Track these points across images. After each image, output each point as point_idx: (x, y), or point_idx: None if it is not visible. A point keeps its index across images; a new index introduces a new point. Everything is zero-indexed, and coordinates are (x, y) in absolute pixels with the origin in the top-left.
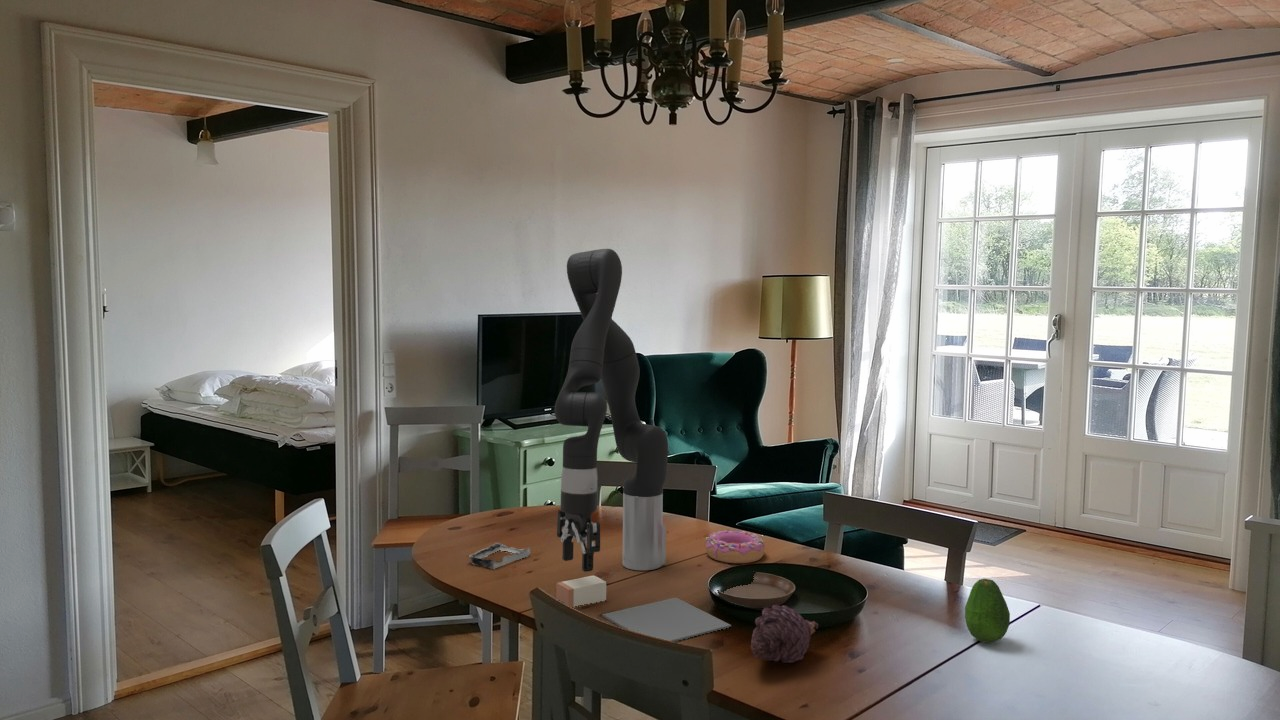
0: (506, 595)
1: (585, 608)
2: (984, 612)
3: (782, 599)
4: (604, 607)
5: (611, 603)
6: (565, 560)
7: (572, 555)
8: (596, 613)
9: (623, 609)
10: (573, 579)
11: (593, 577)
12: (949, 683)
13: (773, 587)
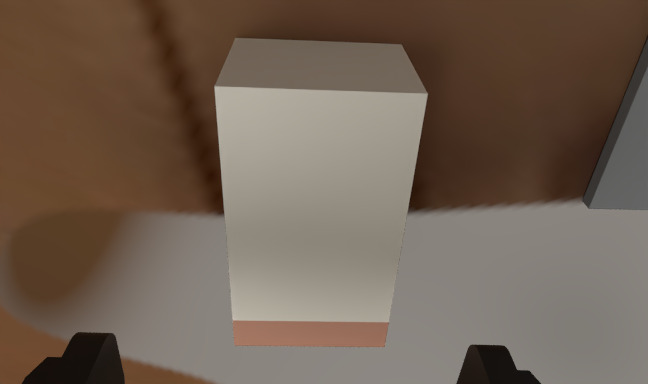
0: None
1: (425, 207)
2: None
3: None
4: (488, 120)
5: (468, 46)
6: (122, 381)
7: (97, 364)
8: (522, 199)
9: (643, 77)
10: (229, 253)
11: (263, 118)
12: None
13: None
